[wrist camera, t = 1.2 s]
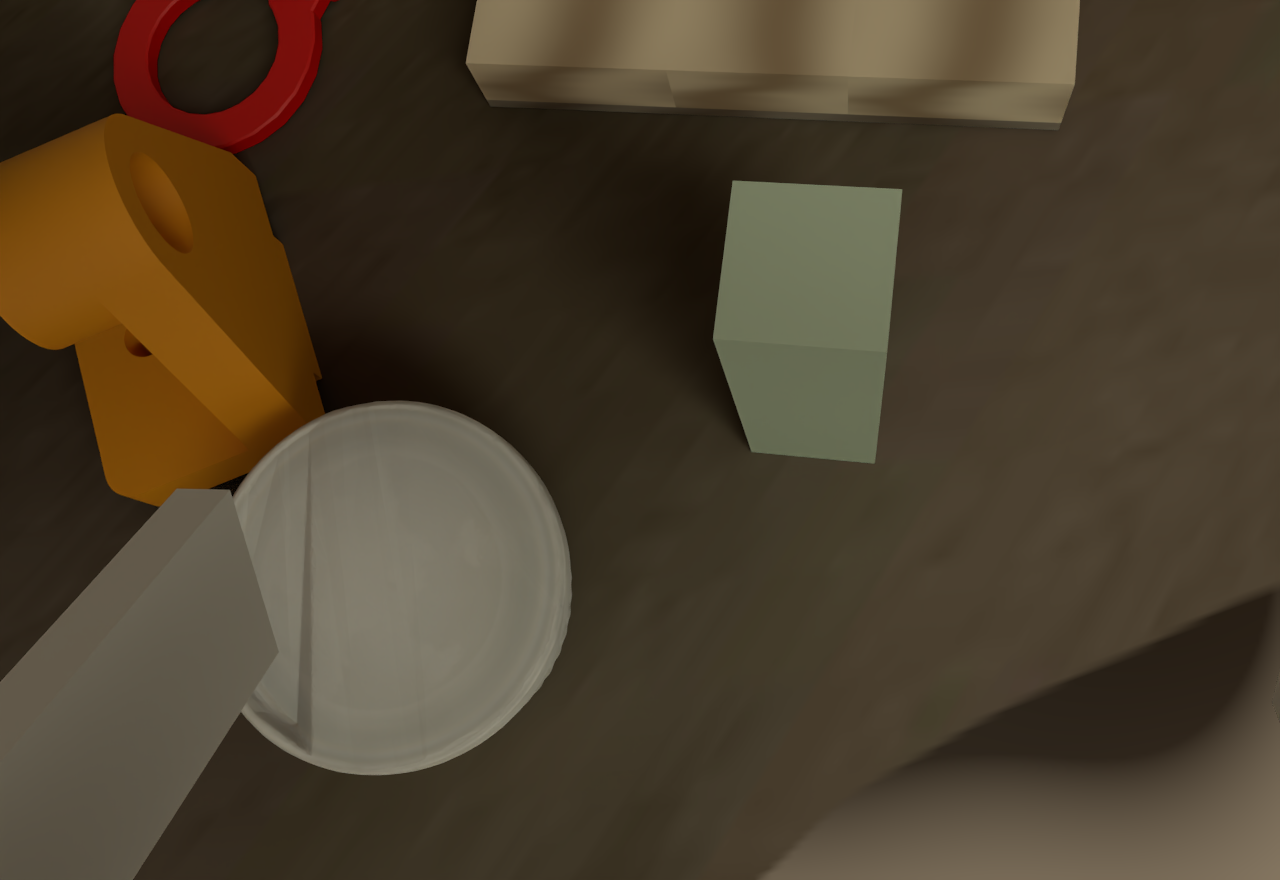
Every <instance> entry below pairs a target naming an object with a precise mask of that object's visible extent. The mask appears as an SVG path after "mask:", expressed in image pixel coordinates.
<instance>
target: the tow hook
mask: <svg viewBox="0 0 1280 880" xmlns="http://www.w3.org/2000/svg"><path fill="white" fill-rule="evenodd" d="M198 1H200V0H136V1H135V2H134V4H133V5H132V7H131V9H130V11H129V13H128V15H127V17H126V19H125V21H124V23H123V25H122V26H121V28H120V32H119V36H118V40H117V44H116V48H115V52H114V84H115V87H116V91H117V95H118V98H119V102H120V105H121V106H122V108H123V110H124V111H125V113H126V114H127V116H130V117H133V118H135V119H138V120H141V121H144V122H147V123H149V124H152V125H155V126H158V127H161V128H163V129H166V130H169V131H172V132H175V133H177V134H180V135H183V136H186V137H189V138H191V139H194V140H197V141H200V142H203V143H205V144H208V145H211V146H214V147H217V148H219V149H222V150H225V151H228V152H231V153H232V154H235V153H238V152H240V151H243V150H245V149H247V148H249V147H251V146H254V145H256V144H258V143H260V142H262V141H264V140H265V139H266V138H267V137H269V136H270V135H271V134H273V133H274V132H275V131H276V130H278V129H279V128H280V127H282V126H283V125H284V124H285V123H286V122H287V121H288V120H289V119H290V117H291V116H292V115H293V114H294V112H295V111H296V110H297V109H298V108H299V106H300V105H301V104H302V103H303V101H304V100H305V98H306V96H307V94H308V92H309V90H310V87H311V85H312V83H313V81H314V79H315V77H316V75H317V71H318V66H319V62H320V57H321V53H322V29H321V20H320V19H321V17H322V15H323V14H324V12H325V10H326V8H327V6H328V4H329V3H330V1H333V2H335V1H338V0H269V6H270V8H271V9H272V10H273V13H274V16H275V19H276V22H277V25H278V48H277V52H276V56H275V61H274V63H273V65H272V67H271V69H270V71H269V73H268V75H267V77H266V78H265V79H264V81H263V82H262V83H261V84H260V85H259V87H258V88H257V89H256V90H255V92H253V93H252V94H251V95H250V96H248V97H247V98H246V99H244V100H243V101H242V102H241V103H239V104H237V105H235V106H233V107H231V108H228V109H226V110H224V111H221V112H216V113H211V114H192V113H187V112H184V111H181V110H179V109H176V108H174V107H172V106H171V105H170V104H169V102H168V101H167V99H166V98H165V96H164V95H163V93H162V91H161V88H160V84H159V81H158V77H157V59H158V55H159V51H160V47H161V43H162V41H163V39H164V37H165V35H166V33H167V32H168V30H169V28H170V26H171V25H172V24H173V23H174V22H175V20H176V19H177V18H178V17H179V16H180V14H181V13H183V12H184V11H185V10H186V9H188V8H189V7H190V6H192V5H193V4H194V3H195V2H198Z"/></svg>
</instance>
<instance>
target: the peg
mask: <svg viewBox="0 0 1280 880" xmlns="http://www.w3.org/2000/svg"><path fill="white" fill-rule="evenodd" d="M901 197H902V189H885V188H866V187H846V186H827V185H808V184H788V183H769V182H750V181H733V183H732V191H731V199H730V207H729V215H728V223H727V231H726V239H725V246H724V254H723V262H722V270H721V278H720V286H719V294H718V302H717V310H716V318H715V326H714V334H713V341H714V344H715V346H716V349H717V352H718V355H719V358H720V361H721V364H722V367H723V370H724V373H725V376H726V379H727V382H728V384H729V387H730V390H731V393H732V396H733V399H734V402H735V405H736V408H737V411H738V414H739V417H740V420H741V422H742V425H743V428H744V431H745V434H746V437H747V440H748V443H749V446H750V449H751V452H758V453H768V454H779V455H789V456H800V457H810V458H821V459H832V460H842V461H853V462H863V463H874V464H875V457H876V448H877V439H878V430H879V421H880V412H881V403H882V393H883V384H884V375H885V366H886V357H887V347H888V337H889V326H890V315H891V305H892V294H893V283H894V272H895V262H896V251H897V240H898V230H899V219H900V208H901Z"/></svg>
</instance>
